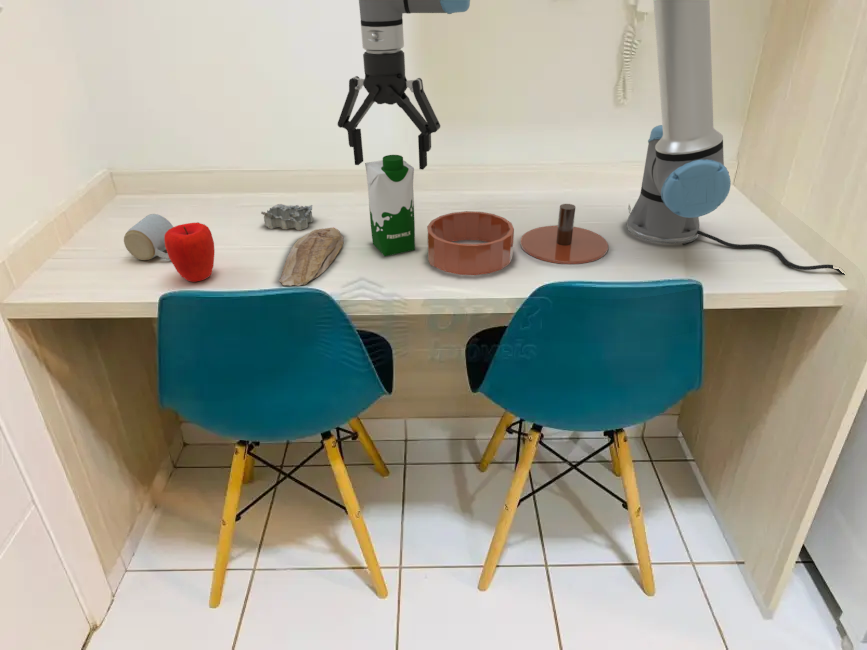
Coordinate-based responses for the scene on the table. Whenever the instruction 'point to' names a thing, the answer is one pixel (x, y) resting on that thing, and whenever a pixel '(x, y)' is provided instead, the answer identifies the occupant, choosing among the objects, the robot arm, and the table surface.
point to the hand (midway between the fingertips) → (390, 165)
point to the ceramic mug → (148, 237)
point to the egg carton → (288, 217)
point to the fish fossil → (311, 256)
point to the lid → (564, 241)
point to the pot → (470, 255)
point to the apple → (191, 250)
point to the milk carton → (391, 204)
